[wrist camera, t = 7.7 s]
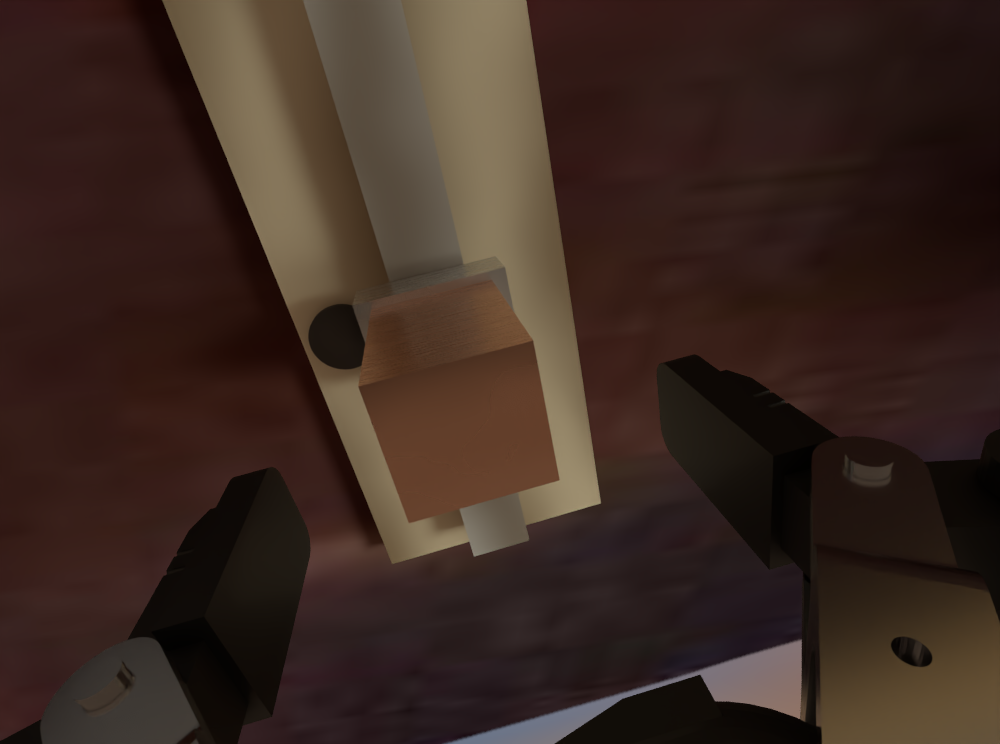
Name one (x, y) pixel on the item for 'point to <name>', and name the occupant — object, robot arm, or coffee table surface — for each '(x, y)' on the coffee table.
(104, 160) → the coffee table surface
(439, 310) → the block
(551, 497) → the bolt-hole plate
